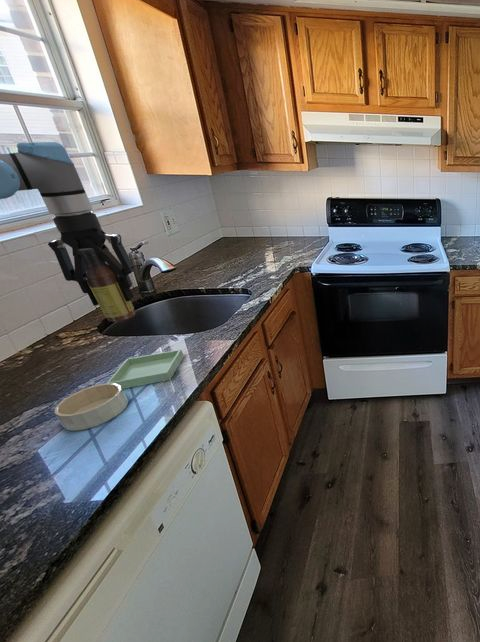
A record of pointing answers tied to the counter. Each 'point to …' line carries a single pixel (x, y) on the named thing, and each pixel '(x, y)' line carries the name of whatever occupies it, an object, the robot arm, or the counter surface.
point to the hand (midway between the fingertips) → (114, 301)
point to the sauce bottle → (106, 287)
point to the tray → (147, 369)
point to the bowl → (91, 406)
